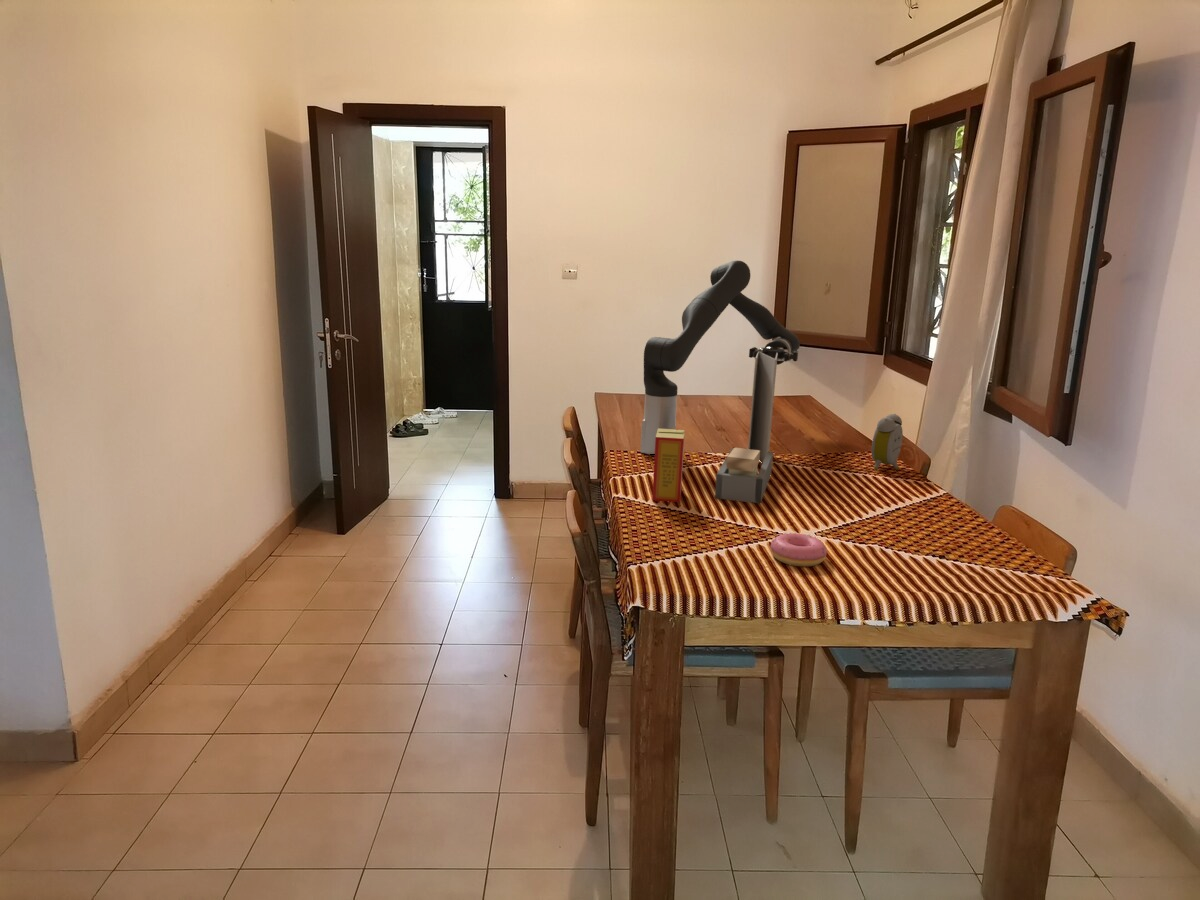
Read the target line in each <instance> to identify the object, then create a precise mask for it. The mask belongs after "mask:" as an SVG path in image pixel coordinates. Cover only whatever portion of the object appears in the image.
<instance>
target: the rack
mask: <svg viewBox="0 0 1200 900" xmlns="http://www.w3.org/2000/svg"><path fill="white" fill-rule="evenodd" d="M734 448H735V447H734ZM734 448H733V447H732V448H731V449H730V451H729V452H728V454H727V456H728V455H729V454H730V453H731V452H732V450H733V449H734ZM727 456H726V458H725V459H724V461H723V463H722V464H721V465H720V468H719V469H718V471H717V473H716V474H715V476H716V478H715V488H714V491H715V493H714V499H719V500H728V501H729V500H730V501H735V500H736V502H746V503H752V502H753V504H760V503H762V502H763V501H762V500H763V498H764V495H765V493H766V489H767V487H768V484H769V482H768V481H770V479H771V476H772V472H773V471H772V470H773V458H774V452H773V451H772V452H771V451H769V452H767V454H766V457H765V459H764V461H763V464H762V463H761V466H760V469H759V472H757V475H758V476H757V477H751V476H743V475H734V474H729V469H727V468H726V467H727ZM770 475H771V476H770ZM769 478H770V479H769ZM764 492H765V493H764Z"/></svg>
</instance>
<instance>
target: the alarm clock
mask: <svg viewBox="0 0 1200 900" xmlns="http://www.w3.org/2000/svg"><path fill="white" fill-rule="evenodd" d="M902 425H903V421H902V418H901V416H900V415H898V414H896V413H891V414H888V415H887V416H885V417H883V418H880V419H879V421H878V422H877V426H876V428H875V430H874V434H873V437H872V441H871V442H872V443H871V449H870V450H871V458H872V460H873V462H874V467H873V470H874V471H875V470H876V471H877V470H878V468H879V467H880V466H881V464H884V465H889V466H891V465H892V467H894V469H895V470H896V471H899V470H900V468H899V465H898V462H897V460H898V459H899V456H900V453H901V450H902V444H903V438H904V437H903V427H902Z"/></svg>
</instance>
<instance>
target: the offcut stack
mask: <svg viewBox="0 0 1200 900" xmlns="http://www.w3.org/2000/svg"><path fill="white" fill-rule="evenodd" d="M728 454H729V453H728ZM728 454H727V456H726V457H727V467H726V468H727V469H729V474H734V475H743V476H751V477H757V476H758V467H759V466H758V465H759V463H760V462H759V459H760V450H752V449H748V448H742V447H734V449H733V450H732V452H731V453H730V454H729V455H728Z"/></svg>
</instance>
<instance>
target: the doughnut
mask: <svg viewBox="0 0 1200 900" xmlns="http://www.w3.org/2000/svg"><path fill="white" fill-rule="evenodd" d="M770 549H771V550H770V551H771V554H772V556H773V557H774V558H775V559H776V560H778V561H779V562H781V563H783V564H785V565H790V566H793V567H803V568H804V567H813V566H817V565H820V564H821V563H822V562H823V561H824V560H825V558H826V556H827V554H828V553H827V552H828V551H827V547H826V545H825V544H824V543H823V541H822V540H821V539H818V538H817V537H816V536H812V535H810V534H803V533H793V532H789V533H786V532H785V533H782V534H778V535H777V536H775V537H774V538H773V539H771V543H770Z"/></svg>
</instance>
